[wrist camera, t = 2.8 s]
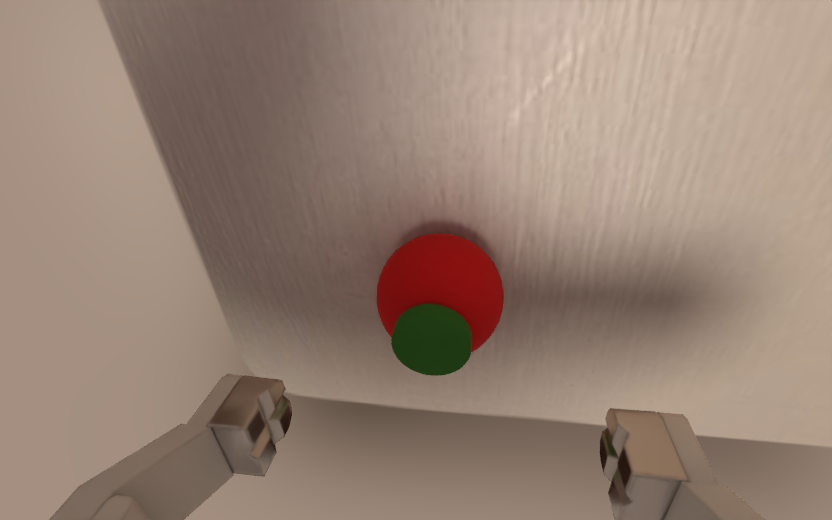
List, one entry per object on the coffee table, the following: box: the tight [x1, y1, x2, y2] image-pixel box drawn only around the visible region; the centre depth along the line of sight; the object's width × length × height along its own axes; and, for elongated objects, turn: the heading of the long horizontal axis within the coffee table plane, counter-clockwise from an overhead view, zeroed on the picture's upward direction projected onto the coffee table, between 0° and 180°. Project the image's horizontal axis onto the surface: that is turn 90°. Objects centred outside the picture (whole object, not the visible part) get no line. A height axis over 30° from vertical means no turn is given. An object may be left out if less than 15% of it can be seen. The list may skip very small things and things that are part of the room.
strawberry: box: [377, 233, 504, 375], centre depth 14 cm, size 4×4×5 cm
